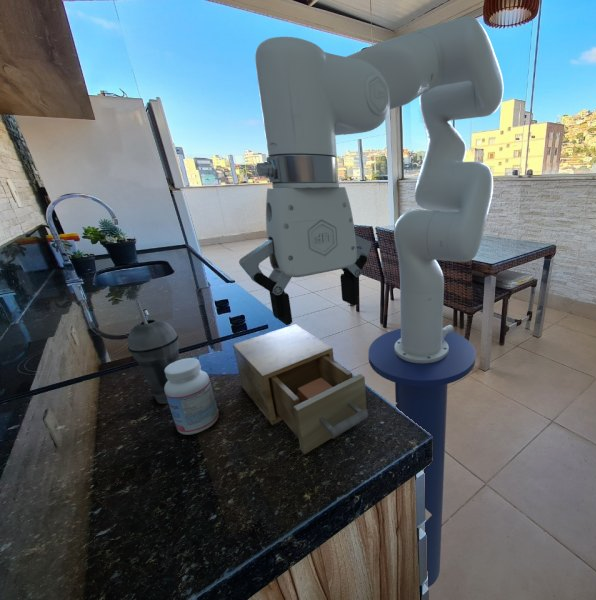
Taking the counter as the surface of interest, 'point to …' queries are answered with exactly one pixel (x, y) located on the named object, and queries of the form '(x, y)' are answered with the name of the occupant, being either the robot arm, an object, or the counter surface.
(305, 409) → the drawer
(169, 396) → the pill bottle
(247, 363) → the cabinet
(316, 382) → the block
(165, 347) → the beverage cup
